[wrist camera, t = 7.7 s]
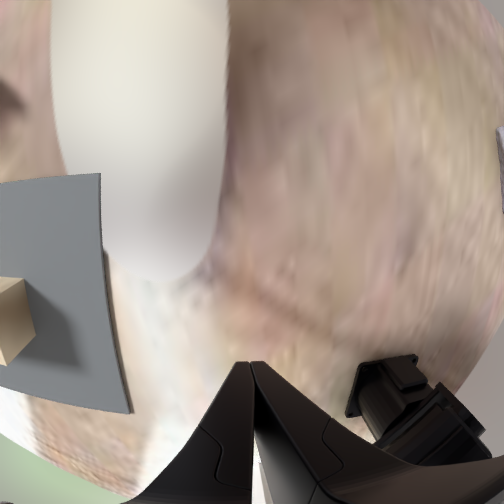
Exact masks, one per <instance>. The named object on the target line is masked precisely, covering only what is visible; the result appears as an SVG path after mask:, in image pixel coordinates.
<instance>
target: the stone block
mask: <svg viewBox="0 0 504 504" xmlns="http://www.w3.org/2000/svg"><path fill="white" fill-rule="evenodd" d="M496 139H497V144H498V154H499V161H500V171H501V175H500V179H501V192H502V209H503V213H504V126H501V127H498V128H497V129H496Z"/></svg>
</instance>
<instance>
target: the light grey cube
mask: <svg viewBox="0 0 504 504" xmlns="http://www.w3.org/2000/svg"><path fill="white" fill-rule="evenodd" d="M252 504H273V501H272V498H271V494H270V491H269V487H268V484H267V480H266V477H265V473H264V470H263V466H262V464H261V463H259V462H258V463H256V464H255V465H253V484H252Z"/></svg>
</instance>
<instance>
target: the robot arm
mask: <svg viewBox="0 0 504 504" xmlns="http://www.w3.org/2000/svg"><path fill="white" fill-rule="evenodd" d="M417 362H418V356H416V355H415V354H412V355H406V356H399V357H394V358H388V359H383V360H377V361H370V362H363V363H361V364H360V365H359V366H358V368H357V372H356V376H355V379H354V383H353V387H352V390H351V394H350V397H349V401H348V404H347V407H346V411H345V415H346V417H347V418H353V417H358V416H362V418H363V419H364V421H365V423H366V425H367V426H368V428H369V430H370V431H371V433H372V435H373V437H374V438H375V440H376V442H375V443H373V444H371V443H369V442H367V441H366V440H364V439H362V438H361V437H359V436H357V435H356V434H354V433H353V432H351V431H350V430H348V429H347V428H346V427H344V426H343V425H341V424H340V423H339V422H337V421H336V420H335V419H334V418H331V416H330V415H328V414H327V413H326V412H324V411H323V410H322V409H321V408H319V407H318V406H317V405H316V404H314V403H313V402H312V401H311V400H309V399H308V398H307V397H306V396H304V395H303V394H302V393H301V392H300V391H298V390H297V389H296V388H295V387H294V386H292V385H291V384H290V383H289V382H288V381H286V380H285V379H284V378H283V377H282V376H280V375H279V374H278V373H277V372H276V371H275V370H273V369H272V368H271V367H270V366H269V365H268V364H266V363H265V362H264V361H251V362H250V363H249V362H247V361H244V362H235V364H234V365H233V367H232V369H231V371H230V372H229V374H228V376H227V377H226V379H225V381H224V383H223V384H222V386H221V388H220V389H219V391H218V393H217V394H216V396H215V398H214V399H213V401H212V403H211V405H210V406H209V408H208V410H207V411H206V413H205V414H204V416H203V418H202V419H201V421H200V423H199V424H198V427H196V429H195V431H194V432H193V434H192V435H191V437H190V438H189V440H188V441H187V443H186V444H185V446H184V447H183V448H182V450H181V451H180V452H179V453H178V454H177V456H176V457H175V458H174V459H173V460H172V461H171V462H170V463H169V465H168V466H167V467H166V468H165V469H164V470H163V471H162V472H161V473H160V474H159V475H158V476H157V477H156V478H155V480H154V481H153V482H152V483H151V484H150V485H149V486H148V487H147V488H146V489H145V490H144V491H143V492H142V493H140V494H139V495H138V496H136V497H135V498H133V499H131V500H129V501H127V502H124V503H121V504H252V484H253V453H254V436H255V440H256V444H257V447H258V451H259V455H260V459H261V462H262V466H263V470H264V473H265V477H266V480H267V484H268V487H269V491H270V494H271V498H272V501H273V504H504V455H502V456H499V457H495V458H492V454H491V453H490V451H489V449H488V448H487V447H486V446H485V444H484V443H483V442H482V441H481V440H480V439H479V437H480V436H481V435H482V434H483V433H484V432H485V428H484V427H483V426H482V425H481V424H480V422H479V421H478V420H477V419H476V418H475V417H474V416H473V415H472V414H471V413H470V411H469V410H468V409H467V408H466V407H465V406H464V405H463V404H462V403H461V402H460V401H459V400H458V399H457V398H456V397H455V396H454V395H453V394H452V393H451V392H450V391H449V390H448V389H447V388H446V387H445V386H444V385H443V384H442V383H441V382H439V383H438V384H437V385H436V386H435V388H434V390H433V389H432V388H431V387H430V385H429V384H428V379H427V378H426V377H425V376H424V375H423V373H422V372H421V371H420V370H419V369H418V368H417V367H416V365H417ZM364 367H365V368H364ZM363 368H364V369H363ZM0 504H13V503H10V502H0Z"/></svg>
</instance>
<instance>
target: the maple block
mask: <svg viewBox="0 0 504 504" xmlns="http://www.w3.org/2000/svg"><path fill="white" fill-rule="evenodd" d="M35 336H36V333H35V329H34V325H33V321H32V317H31V313H30V308H29V304H28V299H27V294H26V289H25V283H24V278H11V277H0V364H1V365H5V366H8V364H9V363H10V362H11V361H12V360H13V359H14V358H15V357H16V356H17V355H18V354H19V352H20V351H21V350H22V349H23V348H24V347H25V346H26V345H27V344H28V343H29V342H30V341H31V340H32V339H33V338H34V337H35Z"/></svg>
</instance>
